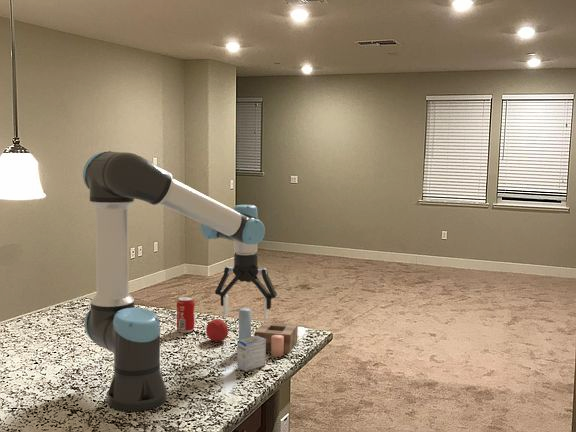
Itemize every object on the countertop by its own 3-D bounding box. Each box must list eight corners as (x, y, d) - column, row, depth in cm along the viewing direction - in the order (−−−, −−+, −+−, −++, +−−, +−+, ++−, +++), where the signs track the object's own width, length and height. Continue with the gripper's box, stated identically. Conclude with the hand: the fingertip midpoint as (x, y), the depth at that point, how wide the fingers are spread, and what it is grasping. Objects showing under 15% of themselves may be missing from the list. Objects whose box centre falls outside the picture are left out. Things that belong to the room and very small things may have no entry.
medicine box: (256, 362, 195) (256, 335, 194) (265, 365, 192) (266, 338, 191) (236, 368, 189) (237, 340, 189) (246, 371, 186) (246, 343, 185)
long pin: (248, 354, 202) (249, 311, 201) (236, 352, 203) (237, 310, 201) (252, 350, 206) (252, 308, 204) (240, 349, 207) (241, 307, 205)
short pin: (281, 357, 200) (282, 339, 199) (269, 356, 201) (270, 338, 200) (284, 353, 204) (285, 335, 203) (272, 352, 205) (273, 334, 204)
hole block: (289, 352, 204) (290, 334, 204) (254, 349, 207) (254, 331, 206) (297, 341, 216) (297, 324, 215) (263, 338, 219) (263, 321, 218)
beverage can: (197, 330, 227) (198, 298, 226) (186, 334, 222) (186, 301, 220) (184, 327, 230) (184, 295, 229) (173, 331, 225) (173, 298, 224)
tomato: (208, 319, 210) (225, 311, 216) (198, 329, 215) (214, 320, 221) (221, 339, 208) (237, 331, 214) (210, 349, 214) (226, 340, 219)
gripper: (286, 252, 202) (285, 316, 204) (212, 249, 207) (213, 311, 210) (280, 256, 195) (280, 323, 197) (205, 253, 200) (205, 317, 203)
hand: (245, 317), depth 203 cm, fingers open, 13 cm apart
